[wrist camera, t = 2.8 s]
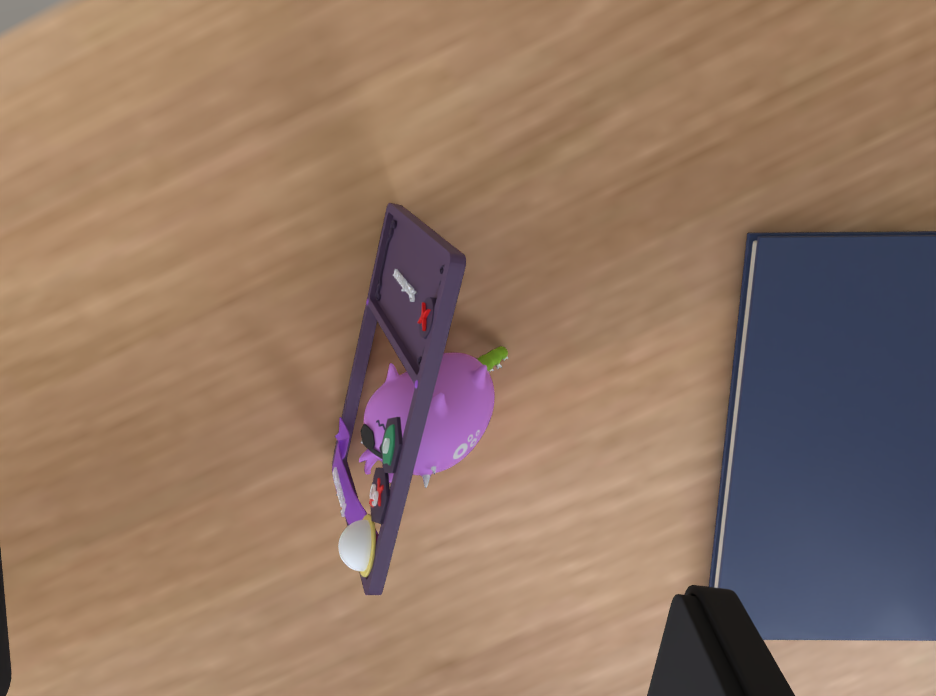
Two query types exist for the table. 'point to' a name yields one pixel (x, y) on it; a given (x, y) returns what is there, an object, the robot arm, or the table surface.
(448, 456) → the purple toy package
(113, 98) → the table surface
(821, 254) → the notebook
